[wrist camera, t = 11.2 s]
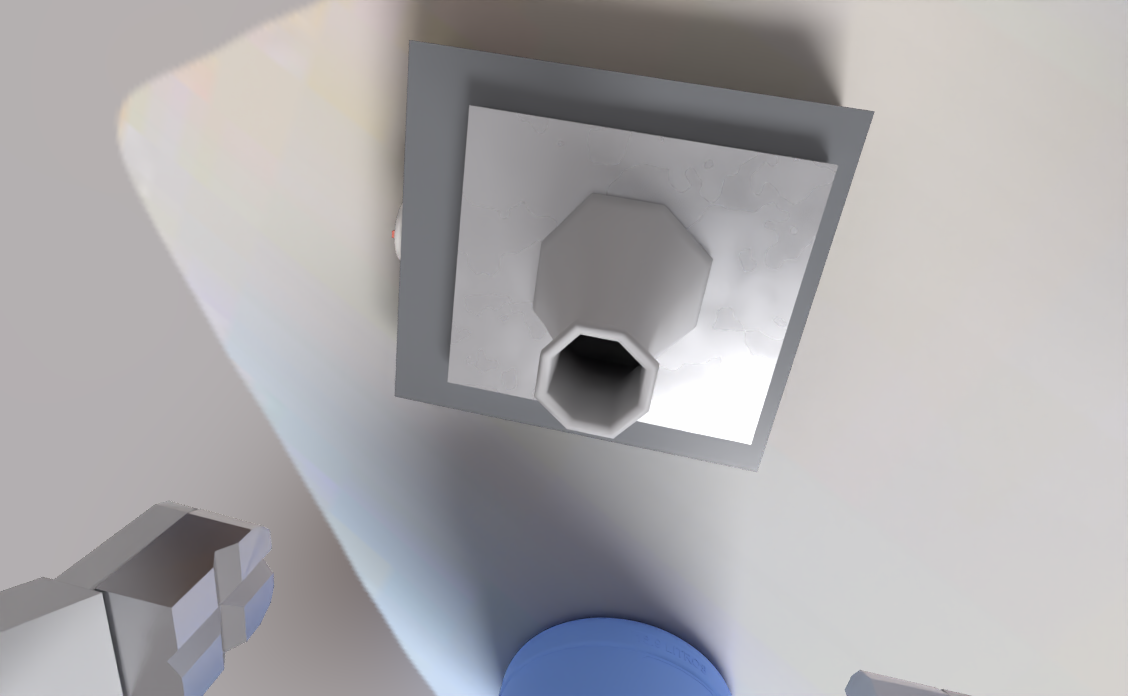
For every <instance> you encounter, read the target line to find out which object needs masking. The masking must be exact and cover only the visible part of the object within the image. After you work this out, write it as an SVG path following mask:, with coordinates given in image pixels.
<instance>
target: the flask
mask: <svg viewBox="0 0 1128 696" xmlns="http://www.w3.org/2000/svg"><path fill="white" fill-rule="evenodd" d="M712 262H713V258H712V257H711V256H710V255H709V254H708V253H707V252H706V251H705V250H704V248H703V247H702V246H701V245H700V244H699V243H698V242H697V241H696V240H695V238H694V237H693V236H692V235H691V234H690V233H689V232H688V231H687V230H686V228H685V227H684V226H683V225H682V224H681V223H680V222H679V221H678V220H677V218H676V217H675V216H674V215H673V214H672V213H671V212H670V211H669V210H668V208H667V207H666V206H665V205H660V204H654V203H648V202H642V201H637V200H631V199H625V198H619V197H614V196H608V195H602V194H596V193H591V194H590V195H589V196H588V197H587V198H586V199H585V200H584V201H583V202H582V203H581V204H580V205H579V206H578V207H577V208H576V209H575V210H574V211H573V212H572V213H571V214H570V215H569V216H568V217H567V218H566V219H565V220H564V221H563V222H562V223H561V224H560V225H559V226H558V227H557V228H556V229H555V230H554V231H553V232H552V233H551V234H549V235H548V236H547V237H546V238H545V239H544V240H543V241H542V242H541V249H540V256H539V263H538V271H537V278H536V286H535V293H534V301H533V308H532V309H533V310H534V312H535V314H536V315H537V316H538V318H539V319H540V320H541V322H542V323H543V324H544V325H545V327H546V329H547V330H548V332H549V334H550V336H551V337H552V339H553V340H552V341H551V342H550V343H549V344H548V345H547V346H545V347H544V348H543V349H542V350H541V353H540V358H539V365H538V372H537V379H536V386H535V393H534V397H535V398H536V399H537V400H538V401H539V402H540V403H541V404H542V405H543V406H544V407H545V408H546V409H547V410H548V411H549V412H550V413H551V414H552V415H553V416H554V417H555V418H556V419H557V420H558V421H559V422H560V423H561V424H562V425H563V426H564V427H565V428H566V429H569V430H573V431H578V432H583V433H588V434H593V435H597V436H602V437H607V438H612V439H614V438H615V437H616V436H618V435H619V434H620V433H621V432H623V431H624V430H625V429H627V428H628V427H629V426H631V425H632V424H633V423H635V422H636V421H637V420H638V419H640V418H641V417H642V416H644V415H645V414H646V413H648V412H649V409H650V405H651V400H652V396H653V392H654V387H655V383H656V379H657V374H658V370H659V365H660V364H659V363H658V361H657V360H656V359H657V358H658V357H659V356H660V355H662V354H663V353H664V352H665V351H667V350H668V349H669V348H670V347H672V346H673V345H674V344H675V343H677V342H678V341H679V340H680V339H682V338H683V337H684V336H685V335H687V334H688V333H689V332H690V331H692V330H693V329H694V328H695V327H696V326H697V322H698V318H699V314H700V310H701V306H702V302H703V298H704V294H705V290H706V286H707V282H708V278H709V274H710V270H711V266H712Z"/></svg>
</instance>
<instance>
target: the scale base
mask: <svg viewBox="0 0 1128 696" xmlns="http://www.w3.org/2000/svg"><path fill="white" fill-rule="evenodd" d="M469 105H472V106H481V107H487V108H493V109H500V110H506V111H512V112H518V113H524V114H530V115H537V116H543V117H549V118H555V119H561V120H567V121H574V122H580V123H586V124H592V125H598V126H604V127H611V128H617V129H623V130H629V131H635V132H641V133H648V134H654V135H660V136H666V137H672V138H678V139H685V140H691V141H697V142H703V143H709V144H715V145H722V146H728V147H734V148H740V149H746V150H753V151H759V152H765V153H771V154H777V155H783V156H790V157H796V158H802V159H808V160H814V161H820V162H827V163H832V164H836V165H838V167H837V171H836V174H835V177H834V180H833V183H832V187H831V190H830V193H829V196H828V199H827V203H826V206H825V209H824V212H823V215H822V219H821V222H820V225H819V228H818V231H817V235H816V238H815V241H814V244H813V247H812V250H811V254H810V257H809V260H808V263H807V266H806V270H805V273H804V276H803V279H802V282H801V286H800V289H799V292H798V295H797V298H796V302H795V305H794V308H793V311H792V314H791V317H790V321H789V324H788V327H787V330H786V333H785V337H784V340H783V343H782V346H781V349H780V353H779V356H778V359H777V362H776V365H775V369H774V372H773V375H772V378H771V381H770V385H769V388H768V391H767V394H766V397H765V400H764V404H763V407H762V410H761V413H760V416H759V420H758V423H757V426H756V429H755V432H754V436H753V439H752V442H751V444H747V443H742V442H737V441H732V440H727V439H722V438H718V437H713V436H708V435H703V434H698V433H693V432H688V431H683V430H679V429H674V428H669V427H664V426H659V425H654V424H649V423H644V422H639V421H636V422H635V423H633V424H632V425H631V426H629V427H628V428H627V429H625V430H624V431H623V432H621V433H620V434H619V435H618V436H616V437H615V438H614V439H612V438H607V437H602V436H597V435H593V434H588V433H583V432H578V431H573V430H569V429H566V428H565V427H564V426H563V425H562V424H561V423H560V422H559V421H558V420H557V419H556V418H555V417H554V416H553V415H552V414H551V413H550V412H549V411H548V410H547V409H546V408H545V407H544V406H543V405H542V404H541V403H540V402H539V401H537V400H532V399H527V398H522V397H518V396H513V395H508V394H503V393H498V392H493V391H488V390H483V389H479V388H474V387H469V386H464V385H459V384H454V383H449V382H448V369H449V357H450V344H451V331H452V319H453V306H454V293H455V281H456V268H457V255H458V243H459V230H460V217H461V205H462V192H463V179H464V167H465V154H466V141H467V129H468V116H469ZM873 115H874V111H868V110H862V109H855V108H849V107H842V106H836V105H829V104H823V103H816V102H810V101H803V100H797V99H790V98H784V97H777V96H771V95H764V94H758V93H751V92H745V91H738V90H732V89H725V88H719V87H712V86H705V85H699V84H692V83H686V82H679V81H673V80H666V79H660V78H653V77H647V76H640V75H634V74H627V73H621V72H614V71H608V70H601V69H595V68H588V67H582V66H575V65H569V64H562V63H556V62H549V61H543V60H536V59H530V58H523V57H517V56H510V55H504V54H497V53H491V52H484V51H478V50H471V49H465V48H458V47H452V46H445V45H439V44H432V43H426V42H419V41H413V40H409V63H408V87H407V112H406V136H405V160H404V185H403V203H402V205H401V207H400V209H399V212H398V215H397V219H396V224H395V230H393V231H392V238H394V243H395V250H396V254H397V257H398V259H399V260H400V282H399V307H398V331H397V355H396V380H395V396H396V397H400V398H405V399H410V400H415V401H420V402H424V403H429V404H434V405H439V406H443V407H448V408H453V409H458V410H463V411H467V412H472V413H477V414H482V415H487V416H491V417H496V418H501V419H506V420H510V421H515V422H520V423H525V424H530V425H534V426H539V427H544V428H549V429H554V430H558V431H563V432H568V433H573V434H577V435H582V436H587V437H592V438H597V439H601V440H606V441H611V442H616V443H621V444H625V445H630V446H635V447H640V448H645V449H649V450H654V451H659V452H664V453H668V454H673V455H678V456H683V457H688V458H692V459H697V460H702V461H707V462H712V463H716V464H721V465H726V466H731V467H735V468H740V469H745V470H750V471H755V472H757V471H758V468H759V465H760V462H761V459H762V456H763V453H764V450H765V447H766V444H767V441H768V438H769V434H770V431H771V428H772V425H773V422H774V419H775V416H776V413H777V410H778V407H779V404H780V401H781V398H782V394H783V391H784V388H785V385H786V382H787V379H788V376H789V373H790V370H791V367H792V364H793V361H794V358H795V354H796V351H797V348H798V345H799V342H800V339H801V336H802V333H803V330H804V327H805V324H806V321H807V318H808V314H809V311H810V308H811V305H812V302H813V299H814V296H815V293H816V290H817V287H818V284H819V281H820V278H821V274H822V271H823V268H824V265H825V262H826V259H827V256H828V253H829V250H830V247H831V244H832V241H833V238H834V235H835V231H836V228H837V225H838V222H839V219H840V216H841V213H842V210H843V207H844V204H845V201H846V198H847V195H848V191H849V188H850V185H851V182H852V179H853V176H854V173H855V170H856V167H857V164H858V161H859V158H860V155H861V151H862V148H863V145H864V142H865V139H866V136H867V133H868V130H869V127H870V124H871V121H872V118H873Z"/></svg>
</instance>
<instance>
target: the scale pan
mask: <svg viewBox="0 0 1128 696" xmlns="http://www.w3.org/2000/svg"><path fill="white" fill-rule="evenodd" d="M837 167H838V165H836V164H832V163H827V162H820V161H814V160H808V159H802V158H796V157H790V156H783V155H777V154H771V153H765V152H759V151H753V150H746V149H740V148H734V147H728V146H722V145H715V144H709V143H703V142H697V141H691V140H685V139H678V138H672V137H666V136H660V135H654V134H648V133H641V132H635V131H629V130H623V129H617V128H611V127H604V126H598V125H592V124H586V123H580V122H574V121H567V120H561V119H555V118H549V117H543V116H537V115H530V114H524V113H518V112H512V111H506V110H500V109H493V108H487V107H481V106H472V105H469V116H468V129H467V141H466V154H465V167H464V179H463V192H462V205H461V217H460V230H459V243H458V255H457V268H456V281H455V293H454V306H453V319H452V331H451V344H450V357H449V369H448V382H449V383H454V384H459V385H464V386H469V387H474V388H479V389H483V390H488V391H493V392H498V393H503V394H508V395H513V396H518V397H522V398H527V399H532V400H537V399H536V398H535V397H534V393H535V386H536V379H537V372H538V365H539V358H540V353H541V350H542V349H543V348H544V347H545V346H547V345H548V344H549V343H550V342H551V341H552V340H553V339H552V337H551V336H550V334H549V332H548V330H547V329H546V327H545V325H544V324H543V323H542V322H541V320H540V319H539V318H538V316H537V315H536V314H535V312H534V310H533V309H532V308H533V301H534V293H535V286H536V278H537V271H538V263H539V256H540V249H541V242H542V241H543V240H544V239H545V238H546V237H547V236H548V235H549V234H551V233H552V232H553V231H554V230H555V229H556V228H557V227H558V226H559V225H560V224H561V223H562V222H563V221H564V220H565V219H566V218H567V217H568V216H569V215H570V214H571V213H572V212H573V211H574V210H575V209H576V208H577V207H578V206H579V205H580V204H581V203H582V202H583V201H584V200H585V199H586V198H587V197H588V196H589V195H590V194H591V193H596V194H602V195H608V196H614V197H619V198H625V199H631V200H637V201H642V202H648V203H654V204H660V205H665V206H666V207H667V208H668V210H669V211H670V212H671V213H672V214H673V215H674V216H675V217H676V218H677V220H678V221H679V222H680V223H681V224H682V225H683V226H684V227H685V228H686V230H687V231H688V232H689V233H690V234H691V235H692V236H693V237H694V238H695V240H696V241H697V242H698V243H699V244H700V245H701V246H702V247H703V248H704V250H705V251H706V252H707V253H708V254H709V255H710V256H711V257H712V258H713V262H712V266H711V270H710V274H709V278H708V282H707V286H706V290H705V294H704V298H703V302H702V306H701V310H700V314H699V318H698V322H697V326H696V327H695V328H694V329H693V330H692V331H690V332H689V333H688V334H687V335H685V336H684V337H683V338H682V339H680V340H679V341H678V342H677V343H675V344H674V345H673V346H672V347H670V348H669V349H668V350H667V351H665V352H664V353H663V354H662V355H660V356H659V357H658V358H657V359H656V360H657V361H658V363H659V364H660V365H659V370H658V374H657V379H656V383H655V387H654V392H653V396H652V400H651V405H650V409H649V412H648V413H646V414H645V415H644V416H642V417H641V418H640V419H638V420H637V421H639V422H644V423H649V424H654V425H659V426H664V427H669V428H674V429H679V430H683V431H688V432H693V433H698V434H703V435H708V436H713V437H718V438H722V439H727V440H732V441H737V442H742V443H747V444H751V442H752V439H753V436H754V432H755V429H756V426H757V423H758V420H759V416H760V413H761V410H762V407H763V404H764V400H765V397H766V394H767V391H768V388H769V385H770V381H771V378H772V375H773V372H774V369H775V365H776V362H777V359H778V356H779V353H780V349H781V346H782V343H783V340H784V337H785V333H786V330H787V327H788V324H789V321H790V317H791V314H792V311H793V308H794V305H795V302H796V298H797V295H798V292H799V289H800V286H801V282H802V279H803V276H804V273H805V270H806V266H807V263H808V260H809V257H810V254H811V250H812V247H813V244H814V241H815V238H816V235H817V231H818V228H819V225H820V222H821V219H822V215H823V212H824V209H825V206H826V203H827V199H828V196H829V193H830V190H831V187H832V183H833V180H834V177H835V174H836V171H837ZM537 401H538V400H537Z"/></svg>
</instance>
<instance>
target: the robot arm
mask: <svg viewBox="0 0 1128 696" xmlns="http://www.w3.org/2000/svg"><path fill="white" fill-rule="evenodd" d="M270 535H271V534H270V530H269V529H267V528H265V527H264V526H262V525H258V524H254V523H251V522H247V521H243V520H240V519H236V518H232V517H229V516H225V515H221V514H218V513H214V512H210V511H207V510H203V509H197V508H193V507H189V506H185V505H182V504H178V503H175V502H171V501H166V502H163V503H159V504H155V505H154V506H152V507H151V508H150V509H148V510H147V511H146V512H144V513H143V514H142V515H140V516H139V517H137V518H136V519H135V520H133V521H132V522H131V523H129V524H128V525H127V526H125V527H124V528H123V529H121V530H120V531H119V532H117V533H116V534H114V535H113V536H112V537H110V538H109V539H108V540H106V541H105V542H104V543H102V544H101V545H100V546H99V547H97V548H96V549H94V550H93V551H92V552H90V553H89V554H88V555H86V556H85V557H84V558H82V559H81V560H80V561H78V562H77V563H75V564H74V565H73V566H71V567H70V568H69V569H67V570H66V571H65V572H63V573H62V574H61V575H59V576H58V577H57V578H55V579H54V580H53V579H49V578H45V577H41V578H38V579H36V580H33V581H30V582H27V583H24V584H21V585H18V586H15V587H12V588H9V589H6V590H3V591H1V592H0V696H203V695H204V693H205V692H206V691H207V690H208V689H209V687H210V686H211V685H212V684H213V682H214V681H215V680H216V679H217V677H218V676H219V675H220V673H222V671H223V670H224V662H225V652H227V651H229V650H231V649H232V648H235V647H237V646H239V645H241V644H243V643H245V642H247V640H248V639H249V638H250V636H251V635H252V634H253V633H254V631H255V630H256V629H257V628H258V626H259V625H260V624H261V622H262V619H263V617H264V615H265V613H266V611H267V609H268V607H269V605H270V603H271V598H272V593H273V588H274V578H273V577H274V576H273V572H272V570H271V569H270V568H269V566H268V565H267V563H266V562H265V561H264V559H263V558H264V557H265V556H266V555H267V553H268V552H269V551H270V550H271V549H272V543H271V536H270ZM845 692H846V695H847V696H970V695H966V694H961V693H957V692H953V691H948V690H944V689H941V690H940V689H938V688H935V687H931V686H927V685H923V684H918V683H914V682H910V681H905V680H901V679H897V678H892V677H888V676H884V675H879V674H875V673H871V672H866V671H862V670H859V671H858V672H856V673H855V674H854V675H852V676H851V678H850V680H849V682H848V684H847V686H846V688H845Z"/></svg>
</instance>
